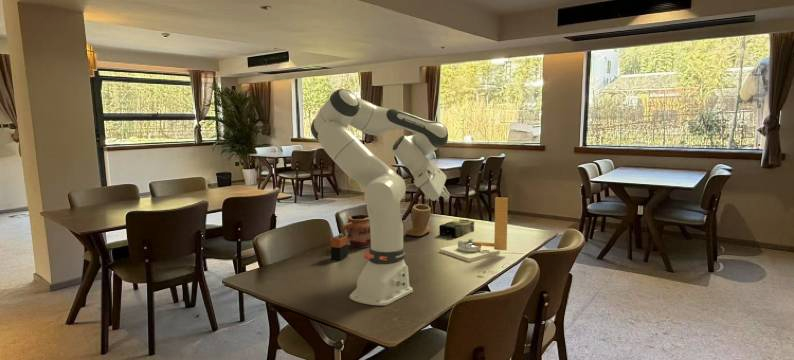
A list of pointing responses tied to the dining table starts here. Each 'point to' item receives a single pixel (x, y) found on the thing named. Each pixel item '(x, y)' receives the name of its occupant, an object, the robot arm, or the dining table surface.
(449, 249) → the base plate
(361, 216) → the decorative planter
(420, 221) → the stone cup
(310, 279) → the dining table surface
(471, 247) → the orange post with disc
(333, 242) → the battery
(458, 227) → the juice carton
